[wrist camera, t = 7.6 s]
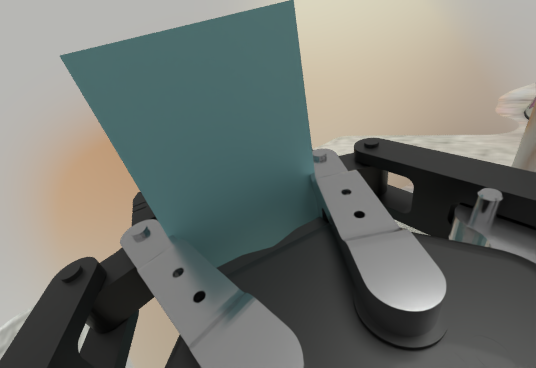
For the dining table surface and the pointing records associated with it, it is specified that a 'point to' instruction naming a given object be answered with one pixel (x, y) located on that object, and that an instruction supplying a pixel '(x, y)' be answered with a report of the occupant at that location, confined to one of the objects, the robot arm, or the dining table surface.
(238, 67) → the block
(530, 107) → the dog bowl
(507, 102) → the dining table surface
